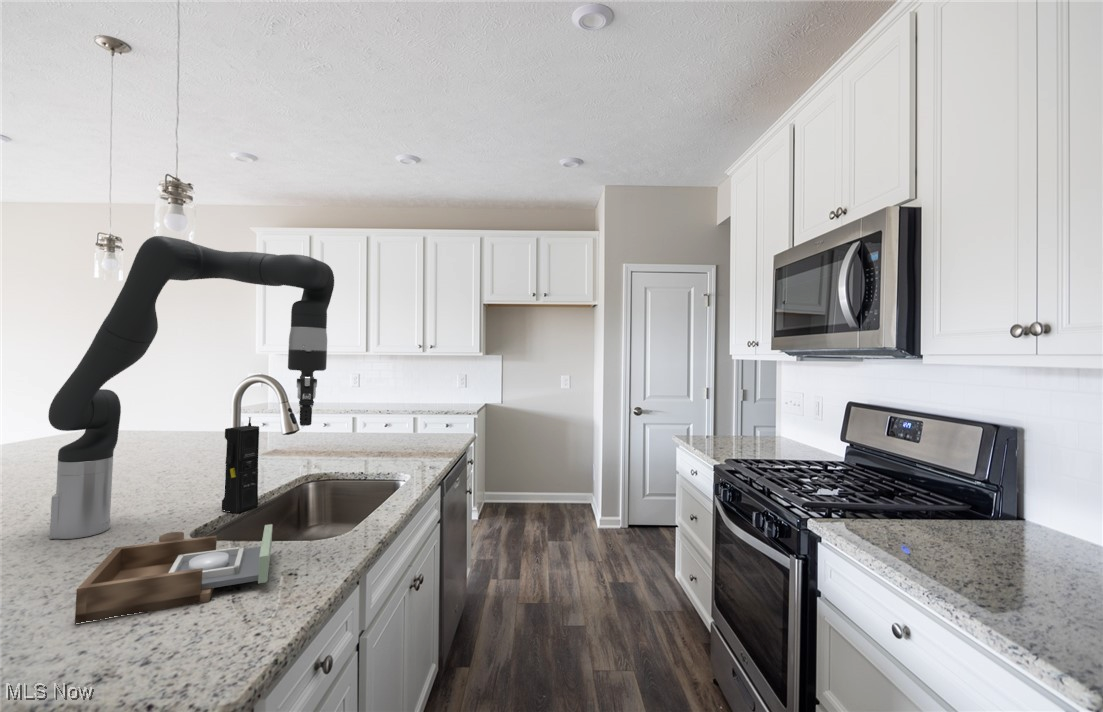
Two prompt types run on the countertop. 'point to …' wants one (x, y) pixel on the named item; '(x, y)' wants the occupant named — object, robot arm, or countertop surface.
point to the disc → (209, 561)
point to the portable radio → (241, 468)
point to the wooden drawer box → (142, 580)
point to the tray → (234, 564)
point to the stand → (171, 536)
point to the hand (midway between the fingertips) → (305, 422)
